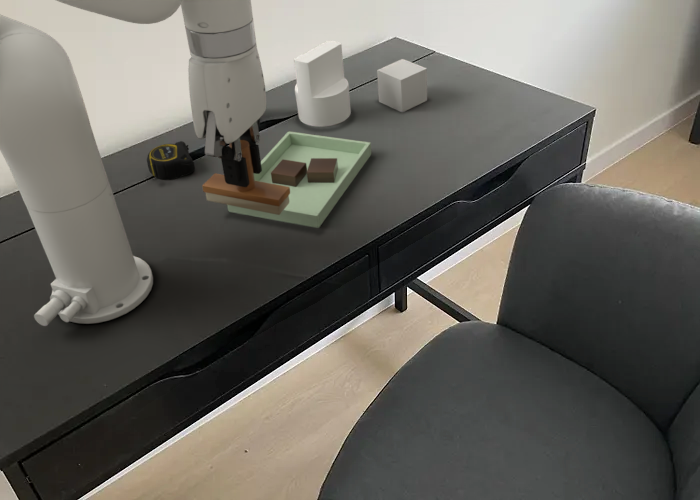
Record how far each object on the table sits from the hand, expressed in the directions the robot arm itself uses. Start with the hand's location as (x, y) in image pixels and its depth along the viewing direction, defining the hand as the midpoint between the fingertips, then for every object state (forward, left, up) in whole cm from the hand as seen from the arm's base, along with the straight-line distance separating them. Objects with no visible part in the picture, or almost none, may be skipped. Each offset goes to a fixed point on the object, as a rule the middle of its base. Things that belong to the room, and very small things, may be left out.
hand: (243, 176), depth 94 cm
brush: (0, 0, -4) cm, 4 cm away
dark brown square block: (+15, +2, -10) cm, 18 cm away
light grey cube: (+44, -5, -11) cm, 46 cm away
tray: (+15, 0, -11) cm, 19 cm away
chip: (+17, -2, -10) cm, 20 cm away
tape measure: (+13, +22, -11) cm, 28 cm away
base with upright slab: (+35, +6, -11) cm, 38 cm away
